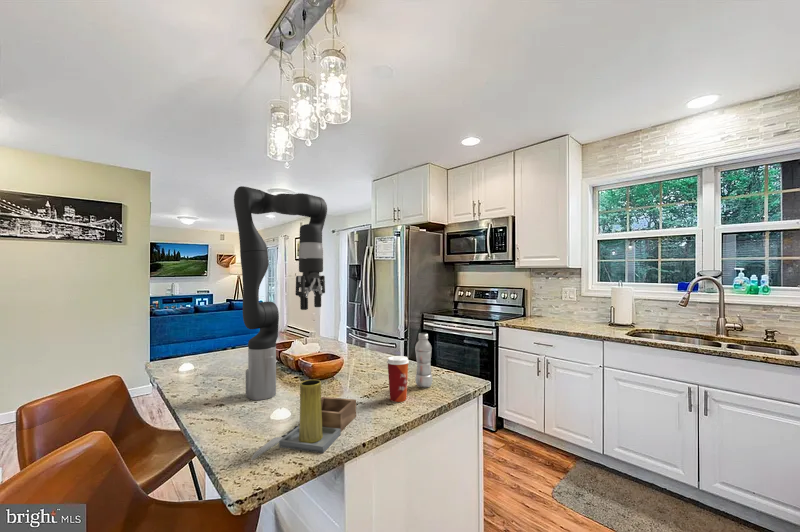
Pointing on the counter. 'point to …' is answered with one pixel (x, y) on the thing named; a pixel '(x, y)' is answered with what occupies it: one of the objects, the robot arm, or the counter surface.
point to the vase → (310, 411)
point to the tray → (319, 446)
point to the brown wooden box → (337, 412)
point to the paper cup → (398, 377)
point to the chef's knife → (269, 445)
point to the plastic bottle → (423, 361)
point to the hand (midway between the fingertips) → (311, 308)
